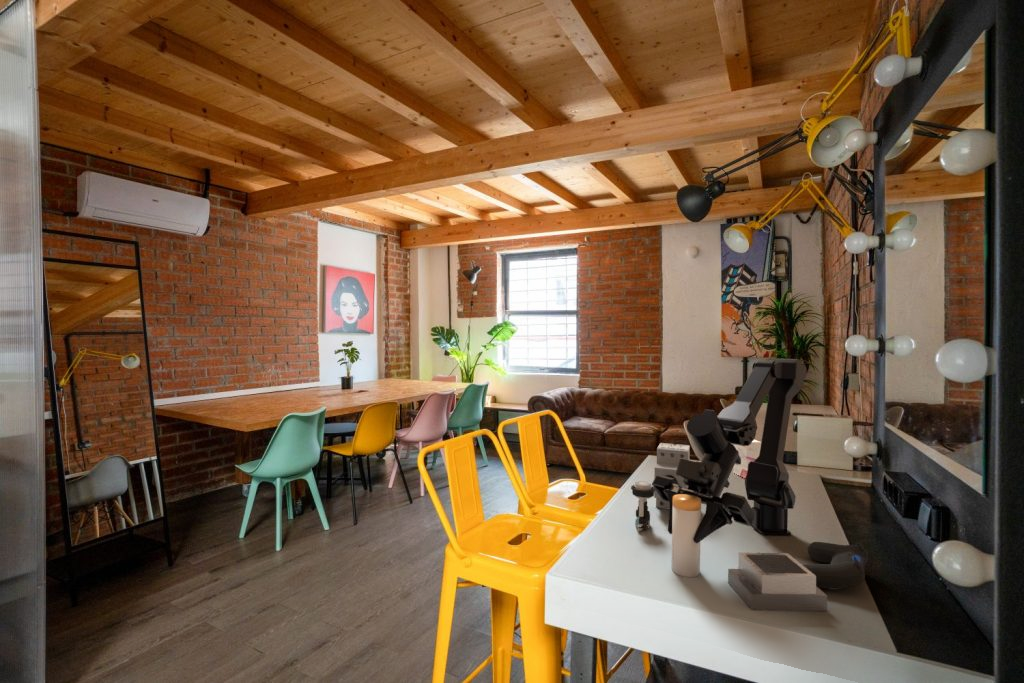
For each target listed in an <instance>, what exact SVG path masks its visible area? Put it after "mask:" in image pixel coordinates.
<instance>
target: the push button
mask: <svg viewBox="0 0 1024 683" xmlns="http://www.w3.org/2000/svg"><path fill="white" fill-rule="evenodd" d="M630 489H631V490H632V491H631V493H632V496H635V498H637V499H638V506H637V508H636V509H635V517H636V518H635V527H636V529H635V530H636V531H638V532H641V531H642V530H644V531H646V529H647V528H648V529H650V525H651V512H650V510H649V506H648V500H649V499H651V498H654V492H655V488H654V487H653V486H652V482H648V481H643V480H642V481H641V480H639V481H635V484H633V485H631V486H630ZM647 525H648V526H647ZM645 528H646V529H645ZM637 529H638V530H637Z"/></svg>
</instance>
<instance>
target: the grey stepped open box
mask: <svg viewBox="0 0 1024 683" xmlns="http://www.w3.org/2000/svg"><path fill="white" fill-rule="evenodd" d="M727 571H728V572H727V576H728V577H727V583H728V584H729V586H730V587H731V588H732V589H733V590H734V591H735V593H736V594H737V595H738V596H739V597H740V598H741V600H742V601H743V602H744V603H745V604H746V606H747V607H748V608H749V609H750V610H751V611H786V612H787V611H791V612H792V611H795V612H796V611H797V612H798V611H799V612H801V611H802V612H828V595H827V594H826V593H825V592H824V591H823V590H822V589H821V588H818V587H816V576H815V575H814V574H813V573H812V572H810V571H809V570H808V569H807V568H805V567H804V566H803V564H801V562H799V561H798V560H797V559H795V558H794V557H793V556H792V555H791V554H789V552H785V553H784V552H738V568H728V570H727Z"/></svg>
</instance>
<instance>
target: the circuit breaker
mask: <svg viewBox="0 0 1024 683" xmlns="http://www.w3.org/2000/svg"><path fill="white" fill-rule="evenodd" d="M690 447H691V446H690V445H688V444H677V443H676V444H674V443H667V442H665V443H664V442H660V443H659V445H658V446H657V448H656V464H655V466H654V478H653V480H654V479H655V477H656V476H658V475H663V476H667V477H670V478H674V479H675V480H676V481H677V483H678V484H679V486H681V487H683V488H686V489H688V485H685V483H684V482H683V480H684V478H683V477H681V476H677V475H676V471H677V467H678V463H679V459H686V460H690V451H691V450H690ZM690 461H691V460H690ZM653 498H654V499H655V508H658V507H662V508H661V509H665V508H668V509H667V510H670V505H669V502H668V501H665V500H663V499H662V498H661V497H660V495H659V494H658V493H657V491H656V490H655V492H654V496H653Z"/></svg>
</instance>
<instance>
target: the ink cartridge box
mask: <svg viewBox="0 0 1024 683" xmlns="http://www.w3.org/2000/svg"><path fill="white" fill-rule="evenodd" d="M733 445H734V446H735V448H736V450H738V451H739V456H740V458H741V464H735V465H734V467H733V469H732V470H733V471H732V472H733V473H732V474H734V473H735V474H734V475H736V474H737V475H736V476H738V475H739V476H738V477H740V476H741V477H740V478H742V477H743V478H742V479H744V478H746V475H747V472H748V464H749V463H750V461H752V462H754V461H755V460H756V459H757V458H758V456H759V454H760V447H761V441H759V440H757V439H754V440H753V441H752V442H751V444H750V445H749V446H740V445H735V444H733Z"/></svg>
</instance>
